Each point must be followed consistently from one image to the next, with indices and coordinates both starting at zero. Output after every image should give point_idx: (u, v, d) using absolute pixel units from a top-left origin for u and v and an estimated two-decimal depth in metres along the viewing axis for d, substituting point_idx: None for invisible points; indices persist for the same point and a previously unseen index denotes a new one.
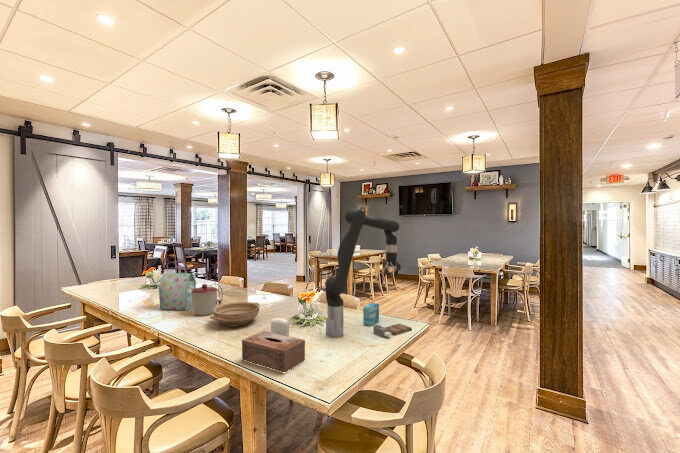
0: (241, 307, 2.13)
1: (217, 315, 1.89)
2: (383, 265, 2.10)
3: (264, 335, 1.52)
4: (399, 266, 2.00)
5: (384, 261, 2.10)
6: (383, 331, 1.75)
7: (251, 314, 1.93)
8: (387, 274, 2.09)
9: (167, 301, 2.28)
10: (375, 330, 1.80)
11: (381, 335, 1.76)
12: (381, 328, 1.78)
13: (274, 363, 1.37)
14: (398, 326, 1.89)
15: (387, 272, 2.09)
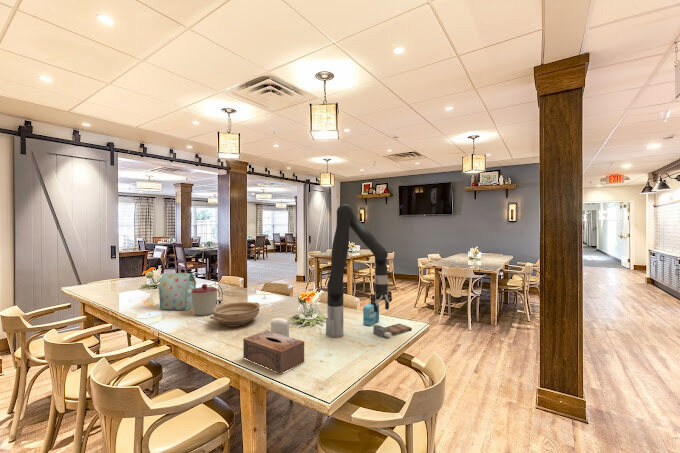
0: (241, 307, 2.13)
1: (217, 315, 1.89)
2: (374, 301, 1.74)
3: (266, 335, 1.53)
4: (389, 296, 1.83)
5: (375, 296, 1.75)
6: (383, 331, 1.75)
7: (251, 314, 1.93)
8: None
9: (167, 301, 2.28)
10: (375, 330, 1.80)
11: (381, 335, 1.76)
12: (381, 328, 1.78)
13: (272, 363, 1.36)
14: (398, 326, 1.89)
15: None
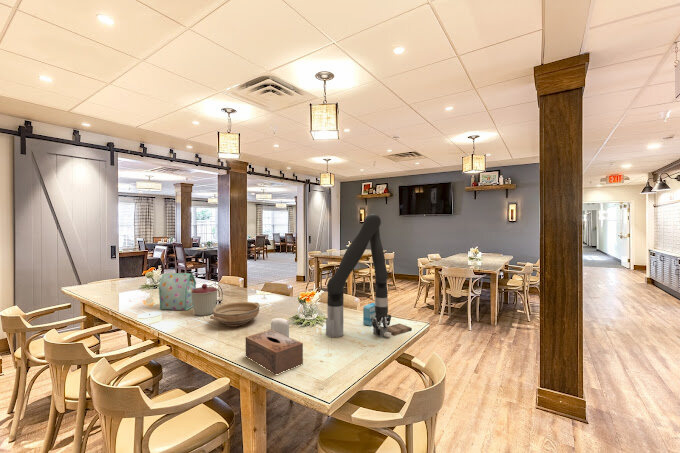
0: (241, 307, 2.13)
1: (217, 315, 1.89)
2: (376, 325, 1.75)
3: (268, 334, 1.53)
4: None
5: None
6: (383, 331, 1.75)
7: (251, 314, 1.93)
8: None
9: (167, 301, 2.28)
10: (375, 330, 1.80)
11: (381, 335, 1.76)
12: (381, 328, 1.78)
13: (268, 364, 1.36)
14: (398, 326, 1.89)
15: None
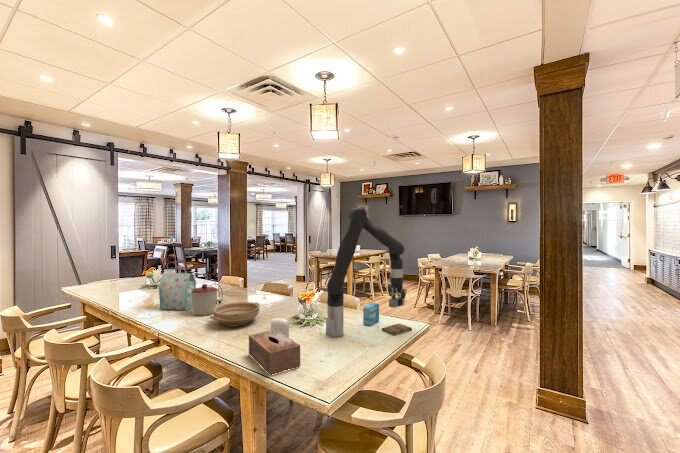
0: (241, 307, 2.13)
1: (217, 315, 1.89)
2: None
3: (271, 334, 1.54)
4: (389, 291, 1.91)
5: None
6: None
7: (251, 314, 1.93)
8: (399, 304, 1.84)
9: (167, 301, 2.28)
10: (396, 302, 1.83)
11: (402, 303, 1.86)
12: None
13: (264, 363, 1.36)
14: (398, 326, 1.89)
15: None
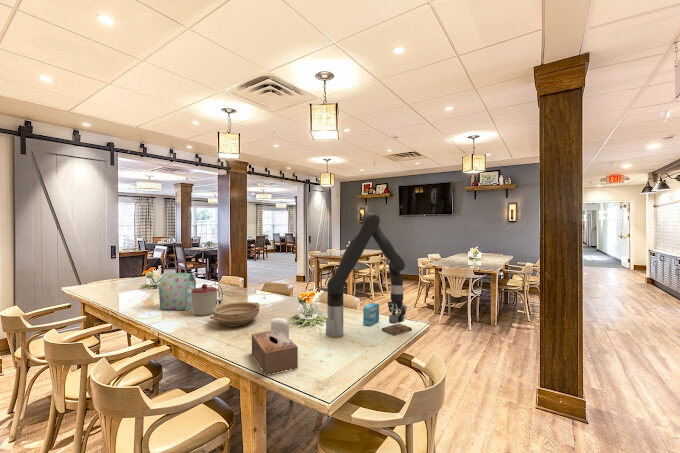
0: (241, 307, 2.13)
1: (217, 315, 1.89)
2: None
3: (273, 333, 1.54)
4: None
5: None
6: None
7: (251, 314, 1.93)
8: (399, 321, 1.84)
9: (167, 301, 2.28)
10: (396, 319, 1.83)
11: (402, 320, 1.86)
12: None
13: (262, 363, 1.37)
14: (398, 326, 1.89)
15: (399, 318, 1.84)
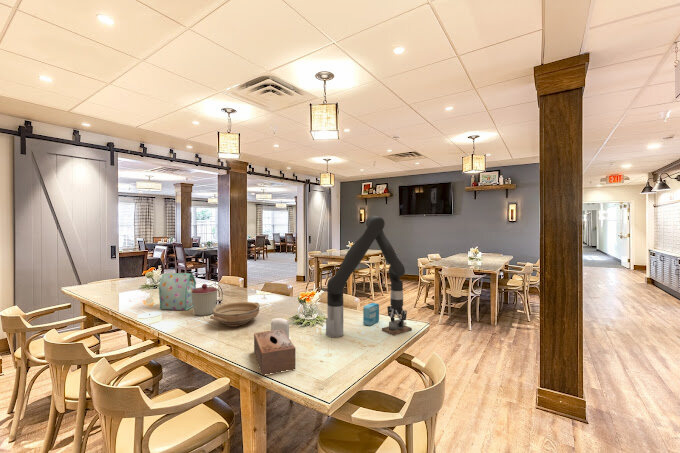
0: (241, 307, 2.13)
1: (217, 315, 1.89)
2: None
3: (275, 333, 1.54)
4: None
5: None
6: None
7: (251, 314, 1.93)
8: None
9: (167, 301, 2.28)
10: (396, 326, 1.83)
11: None
12: (397, 321, 1.86)
13: (260, 363, 1.37)
14: None
15: None
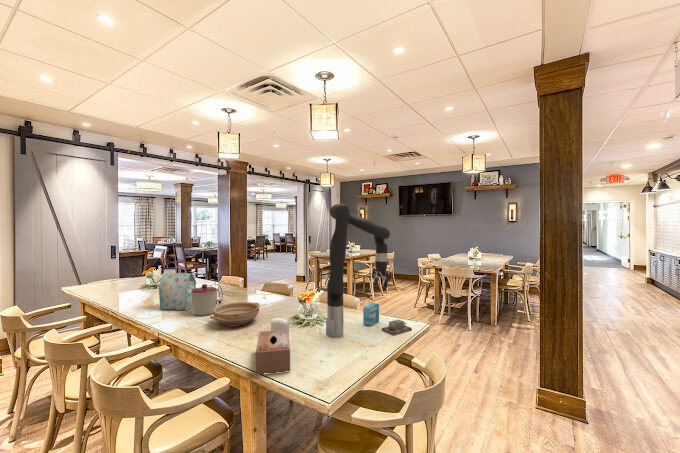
0: (241, 307, 2.13)
1: (217, 315, 1.89)
2: None
3: (278, 333, 1.54)
4: None
5: None
6: None
7: (251, 314, 1.93)
8: None
9: (167, 301, 2.28)
10: (396, 326, 1.83)
11: (402, 326, 1.86)
12: (397, 321, 1.86)
13: None
14: None
15: None
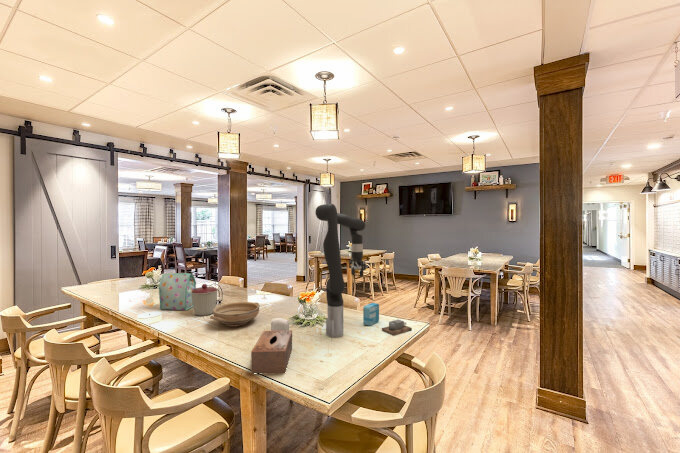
0: (241, 307, 2.13)
1: (217, 315, 1.89)
2: None
3: (280, 333, 1.54)
4: None
5: None
6: None
7: (251, 314, 1.93)
8: None
9: (167, 301, 2.28)
10: (396, 326, 1.83)
11: (402, 326, 1.86)
12: (397, 321, 1.86)
13: None
14: None
15: None
